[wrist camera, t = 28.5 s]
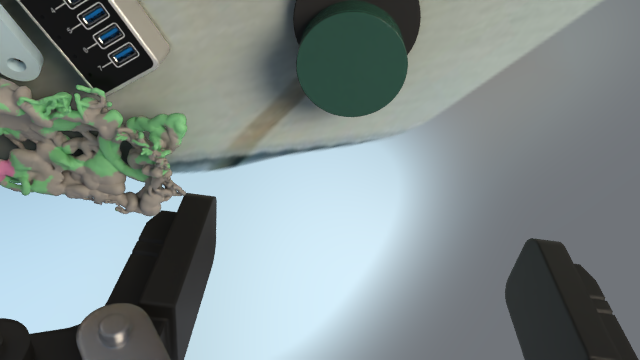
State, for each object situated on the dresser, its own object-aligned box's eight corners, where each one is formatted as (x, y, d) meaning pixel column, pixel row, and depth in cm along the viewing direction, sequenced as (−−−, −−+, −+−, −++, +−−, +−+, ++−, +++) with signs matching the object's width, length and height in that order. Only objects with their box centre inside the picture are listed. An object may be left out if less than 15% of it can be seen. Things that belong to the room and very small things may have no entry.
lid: (370, 117, 31) (372, 134, 29) (282, 76, 30) (278, 91, 28) (424, 30, 28) (429, 44, 26) (327, -20, 26) (326, -9, 25)
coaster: (268, 14, 28) (267, 17, 28) (364, -79, 25) (364, -77, 25) (349, 98, 31) (349, 103, 30) (444, 24, 28) (446, 27, 27)
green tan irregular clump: (204, 159, 28) (161, 264, 35) (217, 102, 31) (176, 209, 38) (-203, 35, 22) (-151, 191, 30) (-134, -18, 26) (-102, 133, 33)
